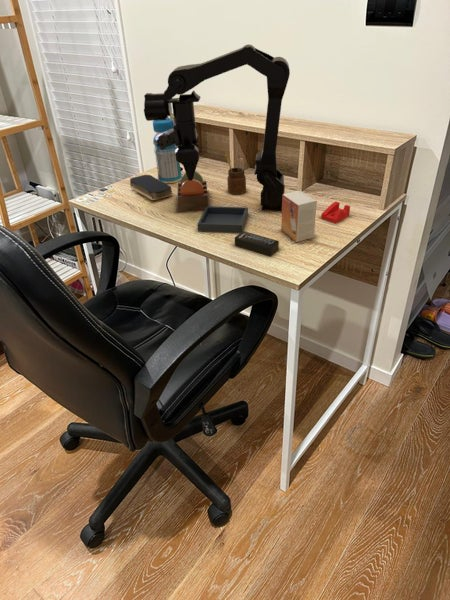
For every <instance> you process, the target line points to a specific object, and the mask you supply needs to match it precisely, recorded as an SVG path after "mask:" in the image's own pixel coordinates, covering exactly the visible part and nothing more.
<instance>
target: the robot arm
mask: <svg viewBox="0 0 450 600" xmlns="http://www.w3.org/2000/svg"><path fill="white" fill-rule="evenodd" d="M246 65H247V66H249V67H250V68H251V69H253V70H255V71H257V72H258V73H260V74H261V75H262V76H264V77H266V87H267V106H266V117H265V127H264V136H263V146H262V151H261V153H256V155H255V156H256V157H255V166H254V172H253V173H254V175H256V180H257V182H258V183H259V184H260V185H262V189H261V190H260V206H261V210H262V211H273V212H278V211H279V212H282V195H283V194H286V193H285V190H286V185H285V175H284V173H282V172H281V170H280V169H278V164H277V144H278V136H279V127H280V118H281V111H282V102H283V98H284V95H285V93H286V89H287V85H288V82H289V79H290V75H291V73H290V72H291V70H290V65H289V62H288V61H287V59H286V58H284V57H282V56H275V57H274V56H272V55H270V54H269V53H267V52H264V51H262V50H260V49H258V48H256V47H255V46H254V45H252V44H245V45H243V46H242V47H239V48H237V49H235V50H231V51H230V52H228V53H227V52H226V53H225V54H222V55H219V56H217V57H214V58H211V59H209V60H207V61H203V62H201V63H195V64H194V63H193V64H186V65H180V66H177V67H176V68H174V69H173V70H172V71H171V72H170V73H169V75H168V78H167V85H168V86H167V88H166V89H165V90H164V91H163V93H161V92H159V93H152V92H146V93H145V94H144V96H143V97H144V101H143V102H144V103H143V114H144V118H145V120H146V121H147V122H150V121H151V122H153V121H154V120H168V118H170V117H171V116H172V114H173V123H174V126H173V128H172V129H170V130H167V131H165V132H163V133H161V134H159V135H157V136H156V139H155V140H156V142H157V146H159V148H160V150H164V149H165V148H166V147H168V146H171V145H173V144H174V143H175V146H178V148H177V149H176V152H175V155H176V161H177V162H179V163H180V165H182V166H183V169H184V173H186V175H187V178H188V180H189V181H192V180H193V177H194V173H195V171H196V170H197V166H198V163H199V161H200V152H199V150H200V149H199V134H198V132H197V124H196V123H197V122H196V114H195V104H194V103H198V102H200V101H201V100H200V99H201V96H200V95H199V94H198V93H197V92H196V91H195V90H192V89H194V88H195V87H197V86H198V85H200V84H201V83H202V82H204V81H206V80H209V79H211V78H214V77H217V76H219V75H222V74H225V73H227V72H230V71H233V70H235V69H238V68H241V67H243V66H246ZM190 90H192V91H191V93H188V92H189V91H190ZM186 93H187V94H186ZM176 95H179V96H178V97H175V96H176ZM174 97H175V98H174Z"/></svg>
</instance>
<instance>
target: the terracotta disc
mask: <svg viewBox="0 0 450 600" xmlns="http://www.w3.org/2000/svg"><path fill="white" fill-rule="evenodd" d="M180 194H181V195H193V194H204V188H203V185H202V184H201V183H200V182H199V181H198V180H195V179H193V180H192V181H189V180H186V181H184V182H183V184H182V185H181V188H180Z"/></svg>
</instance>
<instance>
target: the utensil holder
mask: <svg viewBox="0 0 450 600" xmlns="http://www.w3.org/2000/svg"><path fill="white" fill-rule="evenodd" d="M224 155H225V159H226V163H227V164H228V165H229V169H228V170H227V175H228V176H227V177H226V178H227V179H226V180H227V182H226V183H227V191H228V193H229V194H231V195H241V194H244V193H245V192H246V190H247V178H246V177H247V176H246V175H245V169H244V167H245V165H243V164H244V159H243V158H238V159H237V162H236V164H238V165H237V167H232V166H231V164H232V163H231V162H232V161H231V158H230V154H229V153H228V152H226V153H225V154H224ZM238 161H239V162H238ZM240 162H241V165H240ZM240 166H241V167H240Z"/></svg>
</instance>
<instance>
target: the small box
mask: <svg viewBox="0 0 450 600" xmlns="http://www.w3.org/2000/svg"><path fill="white" fill-rule="evenodd" d="M317 203H318V201H317V200H316V199H314V198H312V196H310V195H308V194H306V193H305V192H303V191H302V190H295V191H291V192H286V193H285V194H283V195H282V211H281V222H280V223H281V224H280V226H281V227H280V229H281V231H282V232H283V233H284V234H286V235H287V236H288V237H290V238H291V239H292V240H293V241H294V242H295V243H299V242H302V241H306V240H310V239H313V238H314V237H315V231H316V230H315V229H316V218H317V217H316V215H317V205H318V204H317Z"/></svg>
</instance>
